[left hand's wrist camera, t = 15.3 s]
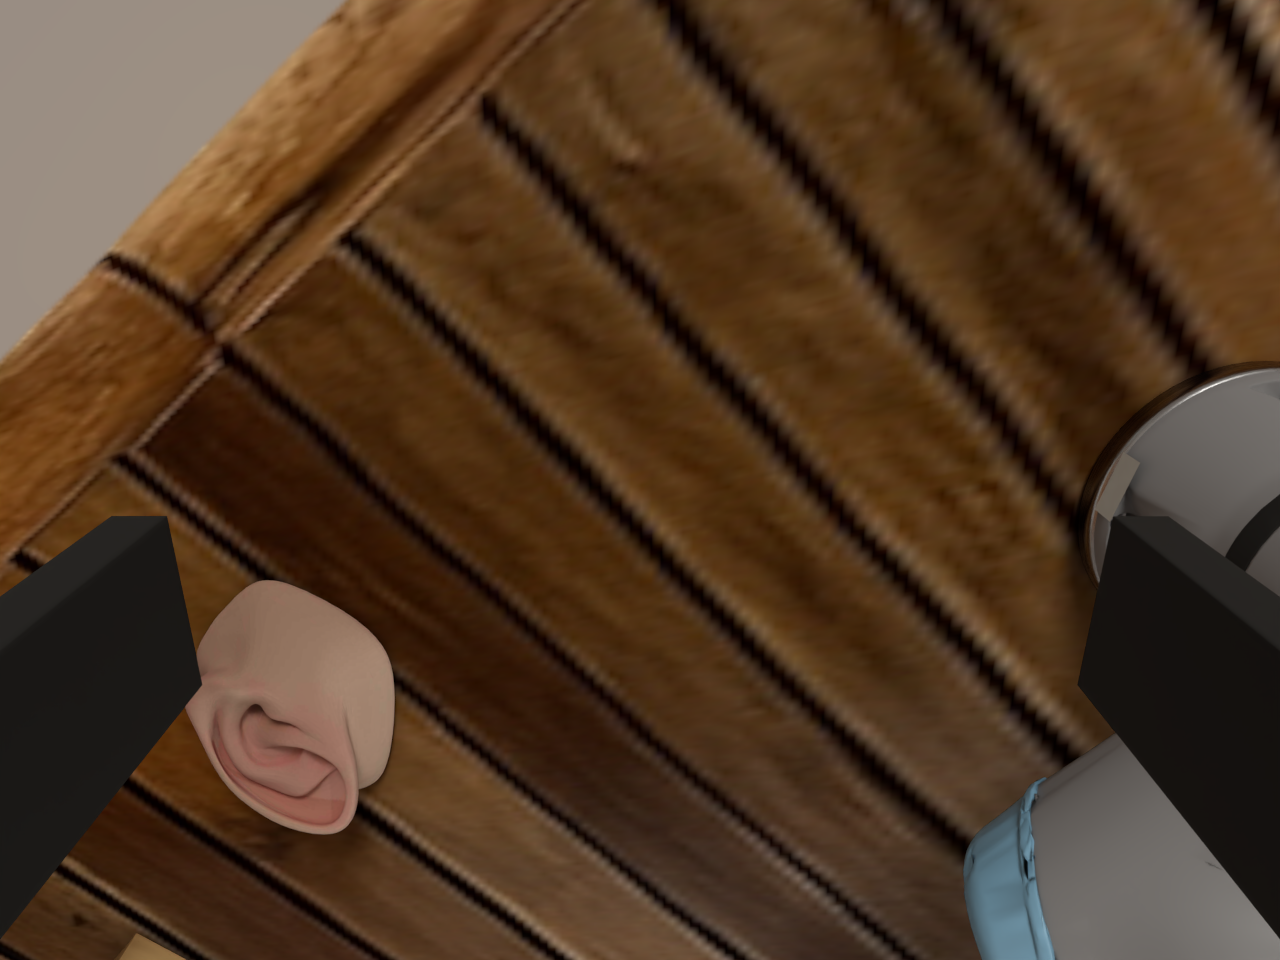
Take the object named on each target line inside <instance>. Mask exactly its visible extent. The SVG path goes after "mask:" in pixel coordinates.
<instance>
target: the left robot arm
mask: <svg viewBox="0 0 1280 960" xmlns="http://www.w3.org/2000/svg"><path fill="white" fill-rule="evenodd" d="M1078 539H1079V547H1080V553H1081V557H1082V560H1083V563H1084V567H1085V569H1086V571H1087V574H1088V576H1089V578H1090V580H1091V581H1092V583H1093V585H1094V586H1095V588H1096V589H1097V595H1096V600H1095V605H1094V609H1093V614H1092V619H1091V624H1090V628H1089V633H1088V638H1087V643H1086V647H1085V652H1084V657H1083V662H1082V666H1081V671H1080V676H1079V680H1078V686H1079V687H1080V689H1081V690H1082V691H1083V692H1084V694H1085V695H1086V696H1087V697H1088V699H1089V700H1090V701H1091V702H1092V704H1093V705H1094V706H1095V707H1096V709H1097V710H1098V711H1099V712H1100V714H1101V715H1102V716H1103V717H1104V719H1105V720H1106V721H1107V722H1108V724H1109V725H1110V726H1111V727H1112V729H1113V730H1114V731H1115V733H1114V734H1113V735H1111V736H1110V737H1108V738H1107V739H1105V740H1104V741H1103V742H1101V743H1100V744H1098V745H1097V746H1095V747H1094V748H1092V749H1091V750H1090V751H1088V752H1087V753H1085V754H1084V755H1082V756H1081V757H1079V758H1078V759H1076V760H1075V761H1073V762H1072V763H1070V764H1069V765H1067V766H1066V767H1064V768H1062V769H1061V770H1059V771H1058V772H1056V773H1055V774H1053V775H1052V776H1050V777H1049V778H1045V777H1044V778H1041V779H1039V780H1037V781H1036V782H1034V783H1033V784H1031V785H1030V786H1029V787H1028V789H1027V791H1026V792H1025V794H1024V796H1023V797H1021V798H1020V799H1019V800H1018V801H1016V802H1015V803H1014V804H1013V805H1011V806H1010V807H1009V808H1008V809H1006V810H1005V811H1004V812H1003V813H1001V814H1000V815H999V816H998V817H996V818H995V819H994V820H992V821H991V822H990V823H988V824H987V825H986V826H984V827H983V828H982V829H981V830H980V831H979V832H978V833H977V834H976V835H975V837H974V838H973V840H972V841H971V843H970V845H969V847H968V850H967V852H966V856H965V863H964V869H963V876H964V884H965V885H964V889H965V890H964V896H965V902H966V907H967V912H968V916H969V920H970V924H971V928H972V931H973V934H974V938H975V941H976V944H977V947H978V949H979V952H980V955H981V958H982V960H1280V362H1275V361H1256V362H1245V363H1238V364H1232V365H1228V366H1224V367H1219V368H1216V369H1213V370H1210V371H1207V372H1204V373H1201V374H1199V375H1196V376H1194V377H1191V378H1189V379H1187V380H1185V381H1183V382H1181V383H1179V384H1177V385H1175V386H1173V387H1172V388H1170V389H1168V390H1167V391H1165V392H1163V393H1162V394H1160V395H1159V396H1157V397H1156V398H1154V399H1153V400H1152V401H1150V402H1149V403H1148V404H1146V405H1145V406H1144V407H1143V408H1142V409H1140V410H1139V411H1138V412H1137V413H1136V414H1135V415H1133V416H1132V417H1131V418H1130V419H1129V420H1128V421H1127V422H1126V423H1125V424H1124V425H1123V426H1122V428H1121V429H1120V430H1119V431H1118V432H1117V433H1116V435H1115V436H1114V437H1113V438H1112V439H1111V441H1110V442H1109V444H1108V445H1107V447H1106V448H1105V449H1104V451H1103V452H1102V454H1101V456H1100V457H1099V459H1098V461H1097V462H1096V464H1095V466H1094V468H1093V470H1092V472H1091V475H1090V477H1089V479H1088V482H1087V484H1086V487H1085V490H1084V493H1083V497H1082V501H1081V505H1080V511H1079V519H1078ZM201 686H202V680H201V676H200V671H199V666H198V662H197V657H196V652H195V647H194V643H193V638H192V633H191V628H190V624H189V619H188V614H187V609H186V605H185V600H184V595H183V590H182V586H181V581H180V576H179V572H178V567H177V562H176V557H175V553H174V548H173V543H172V538H171V534H170V529H169V524H168V519H167V516H111V517H110V518H108V519H107V520H106V521H104V522H103V523H102V524H100V525H99V526H97V527H96V528H95V529H93V530H92V531H91V532H89V533H88V534H86V535H85V536H84V537H82V538H81V539H79V540H78V541H77V542H75V543H74V544H73V545H71V546H70V547H68V548H67V549H66V550H64V551H63V552H61V553H60V554H59V555H57V556H56V557H55V558H53V559H52V560H50V561H49V562H48V563H46V564H45V565H43V566H42V567H41V568H39V569H38V570H37V571H35V572H34V573H32V574H31V575H30V576H28V577H27V578H25V579H24V580H23V581H21V582H20V583H19V584H17V585H16V586H14V587H13V588H12V589H10V590H9V591H7V592H6V593H5V594H3V595H2V596H1V597H0V939H1V937H2V936H3V935H4V934H5V932H6V931H7V930H8V929H9V927H10V926H11V925H12V924H13V922H14V921H15V920H16V919H17V917H18V916H19V915H20V914H21V912H22V911H23V910H24V909H25V907H26V906H27V905H28V904H29V902H30V901H31V900H32V898H33V897H34V896H35V895H36V893H37V892H38V891H39V890H40V888H41V887H42V886H43V885H44V883H45V882H46V881H47V880H48V878H49V877H50V876H51V875H52V873H53V872H54V871H55V870H56V868H57V867H58V866H59V865H60V863H61V862H62V861H63V860H64V858H65V857H66V856H67V854H68V853H69V852H70V851H71V849H72V848H73V847H74V846H75V844H76V843H77V842H78V841H79V839H80V838H81V837H82V836H83V834H84V833H85V832H86V831H87V829H88V828H89V827H90V826H91V824H92V823H93V822H94V821H95V819H96V818H97V817H98V815H99V814H100V813H101V812H102V810H103V809H104V808H105V807H106V805H107V804H108V803H109V802H110V800H111V799H112V798H113V797H114V795H115V794H116V793H117V792H118V790H119V789H120V788H121V787H122V785H123V784H124V783H125V782H126V780H127V779H128V778H129V777H130V775H131V774H132V773H133V771H134V770H135V769H136V768H137V766H138V765H139V764H140V763H141V761H142V760H143V759H144V758H145V756H146V755H147V754H148V753H149V751H150V750H151V749H152V748H153V746H154V745H155V744H156V743H157V741H158V740H159V739H160V738H161V736H162V735H163V734H164V733H165V731H166V730H167V729H168V727H169V726H170V725H171V724H172V722H173V721H174V720H175V719H176V717H177V716H178V715H179V714H180V712H181V711H182V710H183V709H184V707H185V706H186V705H187V704H188V702H189V701H190V700H191V699H192V697H193V696H194V695H195V694H196V692H197V691H198V690H199V689H200V687H201Z"/></svg>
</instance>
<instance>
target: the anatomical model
mask: <svg viewBox="0 0 1280 960" xmlns="http://www.w3.org/2000/svg"><path fill="white" fill-rule="evenodd" d="M197 662H198V666H199V671H200V675H201V680H202V686H201V687H200V689H199V690H198V691H197V692H196V694H195V695H194V696H193V697H192V699H191V700H190V701H189V702H188V704H187V705H186V706H185V708H186V711H187V714H188V716H189V718H190V720H191V722H192V724H193V726H194V728H195V730H196V732H197V734H198V736H199V738H200V740H201V743H202V745H203V747H204V749H205V751H206V753H207V755H208V757H209V759H210V761H211V763H212V765H213V766H214V768H215V770H216V771H217V773H218V774H219V776H220V777H221V779H222V780H223V781H224V783H225V784H226V785H227V786H228V788H229V789H230V790H231V791H232V792H233V793H234V794H235V795H236V796H237V797H238V798H239V799H241V800H242V801H243V802H245V803H246V804H247V805H249V806H250V807H251V808H252V809H254V810H255V811H257V812H258V813H260V814H262V815H263V816H265V817H266V818H268V819H270V820H272V821H274V822H276V823H278V824H280V825H283V826H285V827H288V828H291V829H294V830H298V831H302V832H307V833H312V834H333V833H337V832H339V831H341V830H343V829H344V828H346V827H347V826H348V825H349V823H350V822H351V820H352V819H353V817H354V814H355V811H356V808H357V803H358V796H359V789H361V788H364V787H367V786H369V785H371V784H373V783H374V782H375V781H377V780H378V779H379V777H380V776H381V775H382V773H383V771H384V769H385V767H386V764H387V761H388V757H389V753H390V748H391V742H392V735H393V725H394V706H395V696H394V680H393V672H392V668H391V664H390V661H389V658H388V655H387V653H386V651H385V650H384V648H383V646H382V645H381V644H380V642H379V641H378V640H377V638H376V637H375V636H374V635H373V634H372V633H371V632H370V631H369V630H368V629H367V628H365V627H364V626H363V625H362V624H361V623H359V622H358V621H357V620H356V619H354V618H353V617H351V616H350V615H348V614H347V613H345V612H344V611H342V610H341V609H339V608H337V607H336V606H334V605H332V604H330V603H329V602H327V601H325V600H323V599H321V598H319V597H317V596H315V595H313V594H311V593H309V592H307V591H305V590H302V589H300V588H297V587H295V586H292V585H290V584H287V583H283V582H279V581H274V580H264V581H259V582H256V583H253V584H251V585H250V586H248V587H247V588H245V589H244V590H243V591H242V592H240V593H239V594H238V595H237V596H236V597H235V598H234V599H233V600H232V601H231V602H230V603H229V604H228V605H227V606H226V608H225V609H224V610H223V611H222V612H221V613H220V614H219V615H218V616H217V618H216V619H215V620H214V621H213V623H212V624H211V626H210V627H209V629H208V631H207V632H206V634H205V636H204V637H203V639H202V641H201V643H200V645H199V648H198V651H197Z"/></svg>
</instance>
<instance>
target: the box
mask: <svg viewBox="0 0 1280 960" xmlns="http://www.w3.org/2000/svg"><path fill="white" fill-rule="evenodd" d="M114 960H186V959H184V958H183V957H181V956H179V955H177V954H175V953H173V952H171V951H169V950H168V949H166V948H164V947H162V946H160V945H158V944H156V943H154V942H153V941H151V940H149V939H147V938H145V937H143V936H141V935H140V934H138V933H136V934H135V935H134V937H133V938H132V939H131V940H130V941H129V943H128V944H127V945H126V946H125V947H124V948H123V950H122V951H121V952H120V953H119V954H118V956H117V957H116V958H115V959H114Z"/></svg>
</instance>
